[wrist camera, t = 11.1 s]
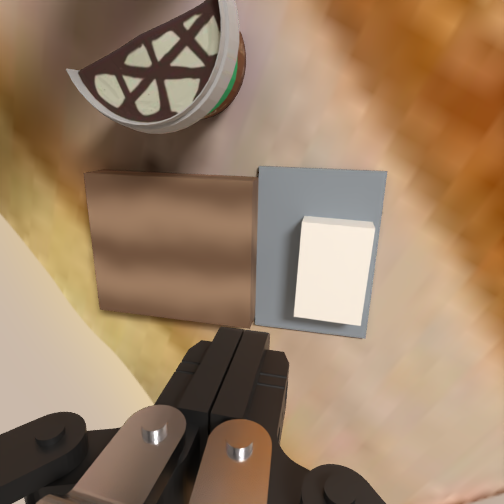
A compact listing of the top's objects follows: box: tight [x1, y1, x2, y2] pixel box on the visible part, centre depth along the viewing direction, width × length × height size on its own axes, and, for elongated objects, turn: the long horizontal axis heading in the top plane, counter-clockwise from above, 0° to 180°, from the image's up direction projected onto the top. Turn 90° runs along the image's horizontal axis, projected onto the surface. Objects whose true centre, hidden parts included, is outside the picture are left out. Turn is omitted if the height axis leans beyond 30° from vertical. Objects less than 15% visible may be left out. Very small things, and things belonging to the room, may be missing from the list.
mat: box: [255, 166, 387, 338], centre depth 35 cm, size 16×11×1 cm
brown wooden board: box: [84, 170, 259, 329], centre depth 37 cm, size 14×16×3 cm
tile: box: [294, 216, 375, 326], centre depth 34 cm, size 9×6×2 cm, turn 178°
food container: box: [66, 0, 246, 134], centre depth 28 cm, size 12×6×10 cm, turn 111°
